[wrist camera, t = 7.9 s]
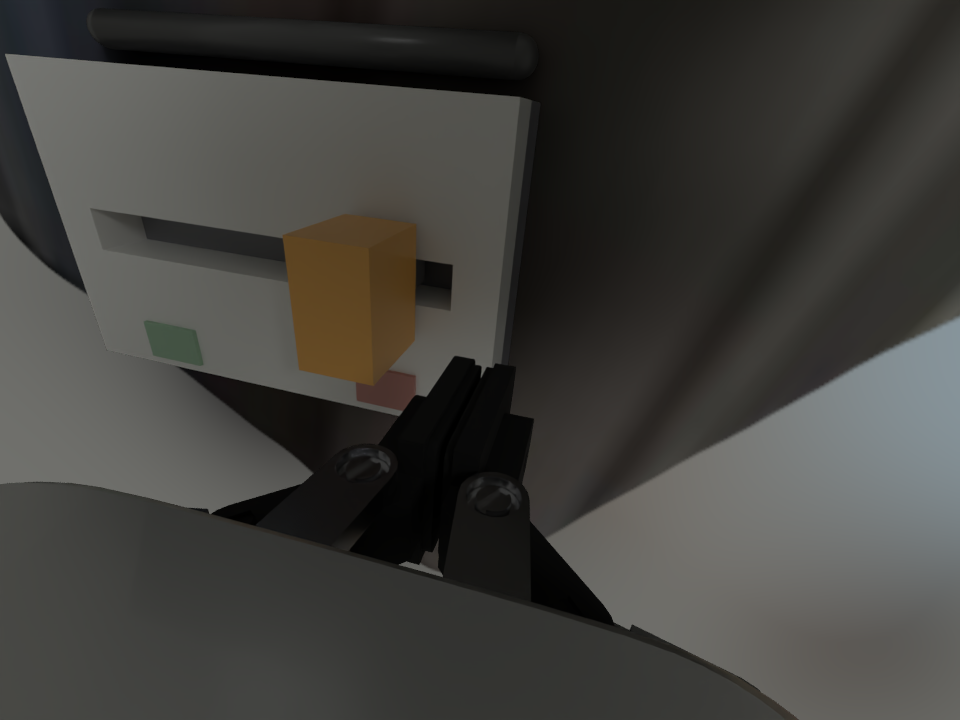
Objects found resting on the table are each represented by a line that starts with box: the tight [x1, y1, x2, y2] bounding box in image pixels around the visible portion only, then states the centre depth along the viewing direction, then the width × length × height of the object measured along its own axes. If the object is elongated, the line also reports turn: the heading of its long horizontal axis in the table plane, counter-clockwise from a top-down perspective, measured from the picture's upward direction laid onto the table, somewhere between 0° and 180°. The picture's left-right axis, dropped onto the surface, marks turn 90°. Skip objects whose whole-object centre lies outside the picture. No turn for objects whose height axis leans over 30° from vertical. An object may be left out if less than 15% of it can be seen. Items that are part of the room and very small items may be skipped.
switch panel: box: [5, 8, 541, 416], centre depth 22 cm, size 22×16×5 cm
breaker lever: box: [283, 214, 425, 386], centre depth 18 cm, size 3×5×6 cm, turn 175°
